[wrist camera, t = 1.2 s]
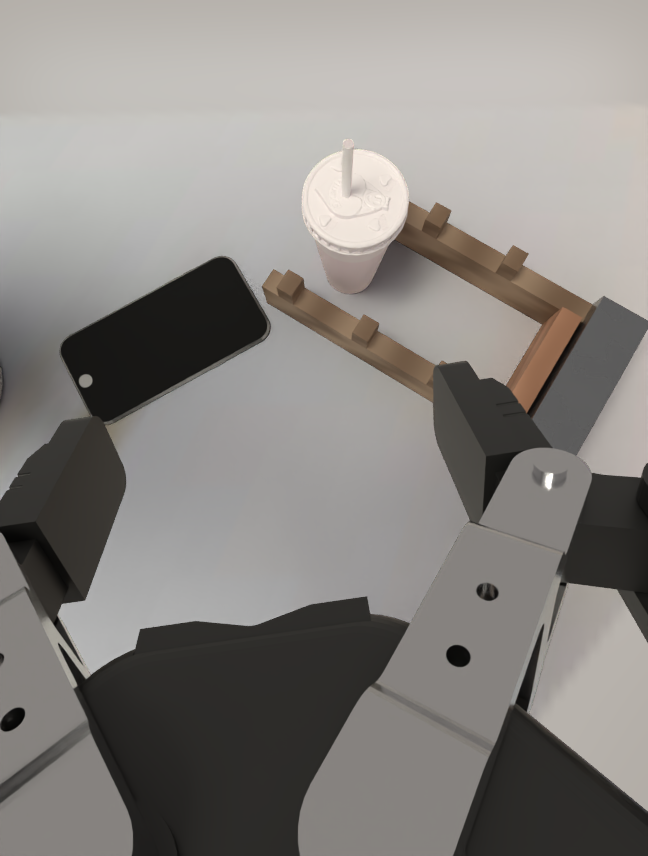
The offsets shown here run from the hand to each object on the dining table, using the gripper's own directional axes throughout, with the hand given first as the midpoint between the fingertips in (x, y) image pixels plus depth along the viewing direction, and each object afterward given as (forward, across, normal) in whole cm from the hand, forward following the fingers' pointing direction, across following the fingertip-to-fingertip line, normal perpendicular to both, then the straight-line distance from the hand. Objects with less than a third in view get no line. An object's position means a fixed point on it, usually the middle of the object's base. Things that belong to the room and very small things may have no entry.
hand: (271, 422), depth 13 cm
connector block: (+21, -18, +15) cm, 32 cm away
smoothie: (+29, -5, +6) cm, 30 cm away
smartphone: (+27, +10, +9) cm, 30 cm away
